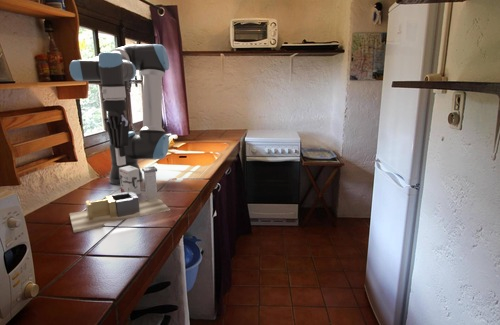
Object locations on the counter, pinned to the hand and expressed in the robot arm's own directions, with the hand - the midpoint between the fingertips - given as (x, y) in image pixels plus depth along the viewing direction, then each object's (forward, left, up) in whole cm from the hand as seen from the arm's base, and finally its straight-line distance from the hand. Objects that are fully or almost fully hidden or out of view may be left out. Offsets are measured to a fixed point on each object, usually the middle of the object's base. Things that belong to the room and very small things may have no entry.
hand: (121, 164), depth 124 cm
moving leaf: (+4, -9, -16) cm, 19 cm away
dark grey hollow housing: (+4, -1, -16) cm, 17 cm away
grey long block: (-2, +10, -16) cm, 19 cm away
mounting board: (+4, -2, -17) cm, 18 cm away
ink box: (-16, +5, -18) cm, 24 cm away
